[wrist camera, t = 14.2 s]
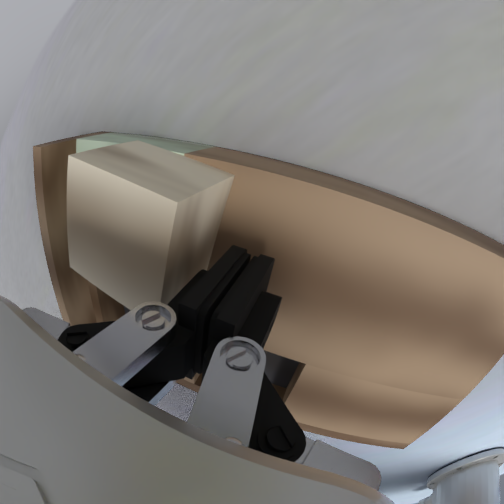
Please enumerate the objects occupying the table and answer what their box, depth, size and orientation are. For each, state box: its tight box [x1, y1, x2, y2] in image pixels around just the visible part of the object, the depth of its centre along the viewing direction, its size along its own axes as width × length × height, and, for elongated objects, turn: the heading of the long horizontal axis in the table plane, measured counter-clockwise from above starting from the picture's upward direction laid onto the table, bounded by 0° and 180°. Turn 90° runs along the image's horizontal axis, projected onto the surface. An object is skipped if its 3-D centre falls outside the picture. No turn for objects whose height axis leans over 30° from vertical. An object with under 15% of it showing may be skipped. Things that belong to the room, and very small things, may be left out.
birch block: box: [67, 140, 235, 310], centre depth 10 cm, size 5×5×4 cm
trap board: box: [33, 132, 504, 449], centre depth 14 cm, size 16×27×6 cm, turn 80°
